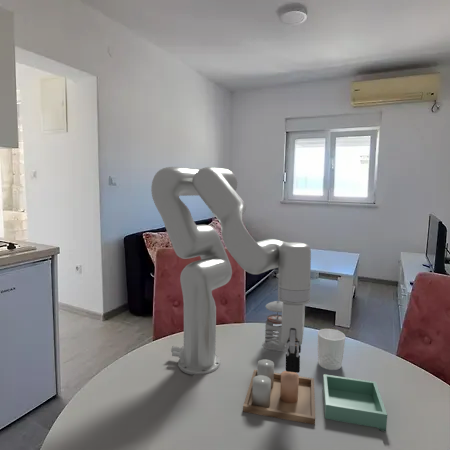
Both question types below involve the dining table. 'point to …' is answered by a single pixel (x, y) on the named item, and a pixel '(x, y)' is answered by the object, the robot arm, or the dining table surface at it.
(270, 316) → the french press
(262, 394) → the pebble
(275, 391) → the tray
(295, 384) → the brown smooth lump
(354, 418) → the bin
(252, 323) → the dining table surface
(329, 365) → the white cup
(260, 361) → the pebble
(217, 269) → the robot arm
